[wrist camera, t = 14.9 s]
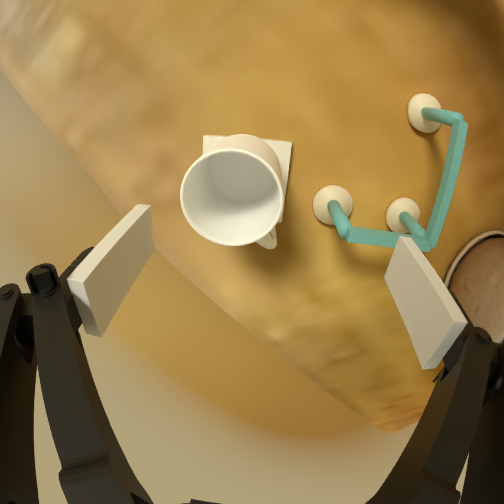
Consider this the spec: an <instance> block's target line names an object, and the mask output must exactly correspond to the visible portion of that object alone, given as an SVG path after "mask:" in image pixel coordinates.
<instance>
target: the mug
mask: <svg viewBox="0 0 504 504" xmlns="http://www.w3.org/2000/svg"><path fill="white" fill-rule="evenodd" d="M180 200H181V206H182V210H183V213H184V215H185V217H186V219H187V221H188V222H189V224H190V225H191V226H192V228H193V229H194V230H195V231H196V232H197V233H199V234H200V235H201V236H203V237H204V238H206V239H207V240H210V241H212V242H214V243H217V244H220V245H225V246H242V245H247V244H251V243H253V242H256V243H258V244H259V245H261V246H262V247H265V248H267V249H274V248H275V247H276V246H277V238H276V230H275V225H276V224H277V222H278V220H279V218H280V216H281V213H282V209H283V203H284V194H283V186H282V177H281V169H280V163H279V160H278V157H277V155H276V153H275V152H274V150H273V149H272V148H271V147H270V146H269V145H268V144H267V143H266V142H265V141H263V140H262V139H260V138H258V137H255V136H252V135H247V134H237V135H232V136H229V137H226V138H224V139H222V140H221V141H219V142H218V143H216V144H215V145H214V146H213V147H212V148H210V149H209V150H208V151H207V152H206V153H205V154H203V155H202V156H201V157H200V158H199V159H198V160H197V161H195V162H194V163H193V164H192V166H191V167H190V168H189V169H188V171H187V173H186V174H185V176H184V179H183V181H182V185H181V191H180ZM269 232H271V234H272V237H273V239H272V237H271V235H270V233H269Z"/></svg>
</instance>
